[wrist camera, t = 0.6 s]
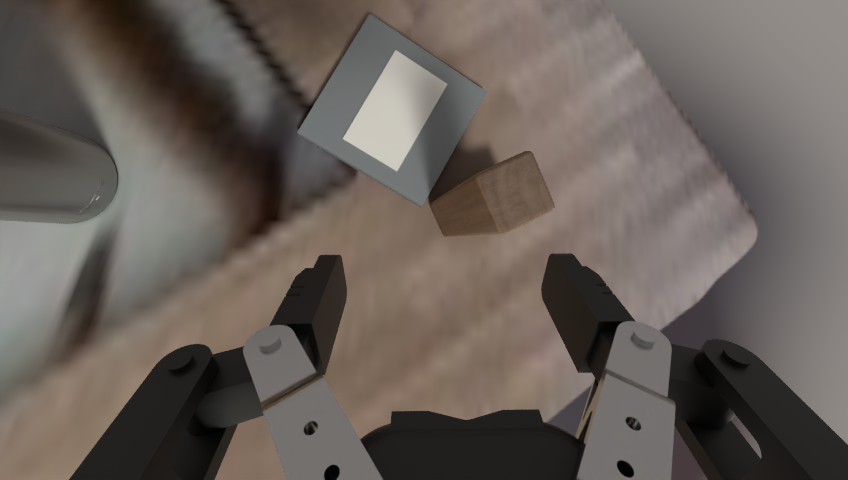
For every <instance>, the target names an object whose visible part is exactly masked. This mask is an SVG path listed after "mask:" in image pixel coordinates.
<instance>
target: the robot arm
mask: <svg viewBox="0 0 848 480" xmlns="http://www.w3.org/2000/svg"><path fill="white" fill-rule="evenodd" d="M116 188H117V172H116V168H115V165H114V163H113V161H112V159H111V157H110V156H109V155H108V154H107V152H106V151H105V150H104V149H103V148H102V147H100V146H99V145H98V144H97V143H95V142H93V141H91V140H89V139H87V138H85V137H82V136H79V135H77V134H74V133H71V132H68V131H65V130H62V129H60V128H57V127H54V126H51V125H48V124H46V123H43V122H40V121H37V120H34V119H32V118H29V117H26V116H23V115H20V114H17V113H15V112H12V111H9V110H6V109H3V108H0V220H5V221H23V222H43V223H63V224H68V223H78V222H82V221H85V220H88V219H90V218H92V217H94V216H97V215H98V214H99V213H101V212H102V211H103V210H104V209H105V208H106V207H107V206H108V205H109V203H110V202H111V201H112V199H113V197H114V195H115V192H116ZM290 287H291V288H290V289H289V290H288V292H287V294H286V297H285V298H284V299H283V301H282V303H281V305H280V307H279V309H278V311H277V312H276V314H275V316H274V318H273V320H272V322H271V324H270V326H268V327H266V328H263V329H261V330H259V331H257V332H256V333H254V334H253V335H252V336H251V337H250V338H249V339H248V340H247V341H246V343H245V345H244V346H243V347H240V348H236V349H232V350H229V351H225V352H221V353H217V354H212V352H211V350H210V349H209V347H207V346H205V345H202V344H193V345H188V346H184V347H181V348H179V349H176V350H175V351H173V352H171V353H169V354H168V355H166V356H165V357H164V358H162V359H161V360H160V361H159V362H158V363H157V364H156V366H155V367H154V368H153V369H152V371H151V372H150V373H149V375H148V376H147V377H146V379H145V380H144V381H143V383H142V384H141V385H140V387H139V388H138V389H137V391H136V392H135V393H134V394H133V396H132V397H131V398H130V400H129V401H128V402H127V404H126V405H125V406H124V408H123V409H122V410H121V412H120V413H119V414H118V416H117V417H116V418H115V420H114V421H113V422H112V424H111V425H110V426H109V428H108V429H107V430H106V431H105V433H104V434H103V435H102V437H101V438H100V439H99V441H98V442H97V443H96V445H95V446H94V447H93V449H92V450H91V451H90V453H89V454H88V455H87V457H86V458H85V459H84V461H83V462H82V463H81V465H80V466H79V467H78V468H77V470H76V471H75V472H74V474H73V475H72V476H71V478H70V479H69V480H214V479H215V477H216V475H217V472H218V470H219V467H220V465H221V463H222V460H223V458H224V456H225V453H226V451H227V448H228V446H229V444H230V441H231V439H232V437H233V434H234V432H235V429H236V427H237V425H238V423H241V422H244V421H247V420H250V419H254V418H257V417H260V416H263V415H264V417H265V420H266V423H267V426H268V429H269V431H270V434H271V437H272V440H273V443H274V445H275V448H276V451H277V454H278V457H279V460H280V462H281V465H282V468H283V471H284V474H285V476H286V479H287V480H671V468H672V453H673V438H674V425H675V427H676V428H677V430H678V432H679V433H680V435H681V437H682V438H683V440H684V441H685V443H686V445H687V446H688V448H689V449H690V451H691V453H692V454H693V456H694V458H695V459H696V461H697V462H698V464H699V466H700V467H701V469H702V471H703V472H704V474H705V475H706V477H707V479H708V480H848V445H847V444H846V443H845V442H844V441H843V440H842V439H841V438H840V437H839V436H838V435H837V434H836V433H835V432H834V431H833V430H832V429H831V428H830V427H829V426H828V425H827V424H826V423H825V422H824V421H823V420H822V419H821V418H820V417H819V416H818V415H817V414H816V413H815V412H814V411H813V410H811V408H809V407H808V406H807V405H806V404H805V403H804V402H803V401H802V400H801V399H800V398H799V397H798V396H797V395H796V394H795V393H794V392H793V391H792V390H791V389H790V388H789V387H788V386H787V385H786V384H785V383H784V382H783V381H782V380H781V379H780V378H779V377H778V376H777V375H776V374H775V373H774V372H773V371H772V370H771V369H770V368H769V367H768V366H767V365H766V364H765V363H764V362H763V361H762V360H760V359H759V358H758V357H757V356H756V355H754V354H753V353H751V352H750V351H748V350H747V349H745V348H743V347H741V346H739V345H737V344H734V343H731V342H728V341H724V340H718V339H712V340H708V341H706V342H705V343H704V345H703V346H702V347H701V349H700V350H696V349H692V348H687V347H683V346H678V345H674V344H670V342H669V341H668V339H667V338H666V337H665V336H664V335H663V334H662V333H661V332H659V331H658V330H656V329H655V328H653V327H651V326H649V325H646V324H644V323H640V322H636V321H635V320H634V319H633V318H632V316H631V315H630V314H629V312H628V311H627V310H626V309H625V307H624V306H623V305H622V304H621V302H620V301H619V300H618V299H617V297H616V296H615V295H614V294H612V291H611V290H610V288H609V287H608V286H606V283H605V282H604V281H603V280H602V278H601V277H600V276H599V275H598V274H597V273H595V272H594V271H593V270H591V269H590V268H588V267H587V266H582V265H581V264H580V263H579V261H578V260H577V259H576V257H575V256H574V255H573V254H551V255H550V256H549V258H548V262H547V266H546V270H545V274H544V278H543V282H542V289H541V291H542V298H543V301H544V303H545V305H546V307H547V309H548V312H549V314H550V316H551V318H552V320H553V322H554V324H555V326H556V328H557V330H558V332H559V334H560V336H561V338H562V340H563V342H564V344H565V346H566V348H567V350H568V352H569V354H570V356H571V358H572V360H573V363H574V365H575V367H576V369H577V371H578V373H591V372H592V373H593V375H594V377H595V379H594V382H593V384H592V387H591V390H590V393H589V396H588V400H587V403H586V406H585V409H584V412H583V415H582V419H581V422H580V425H579V428H578V431H577V433H576V436H573V435H571V434H570V433H568V432H566V431H564V430H562V429H560V428H558V427H556V426H554V425H551V424H548V423H545V422H543V420H542V417H541V414H540V411H539V410H501V411H498V412H494V413H491V414H488V415H484V416H481V417H477V418H474V419H470V420H462V419H458V418H454V417H450V416H446V415H442V414H438V413H434V412H430V411H394V412H392V416H391V424H387V425H384V426H382V427H380V428H377V429H375V430H373V431H372V432H370V433H368V434H367V435H365V436H364V437H363V438H361V439H359V437H358V435H357V434H356V432H355V430H354V428H353V427H352V425H351V423H350V422H349V420H348V418H347V416H346V415H345V413H344V411H343V409H342V408H341V406H340V404H339V403H338V401H337V399H336V397H335V396H334V394H333V392H332V390H331V389H330V387H329V385H328V384H327V382H326V380H325V378H324V377H323V375H325V373H326V369H327V366H328V362H329V359H330V355H331V352H332V348H333V345H334V341H335V338H336V334H337V331H338V327H339V324H340V321H341V317H342V314H343V310H344V307H345V303H346V297H347V287H346V280H345V274H344V268H343V262H342V257H341V255H320V256H319V257H318V260H317V262H316V264H315V266H314V268H305V269H304V270H303V271H302V272H301V273H300V274H298V275H297V276H296V277H295V279H294V281H293V283H292V285H291V286H290ZM735 415H736V416H737V417H738V418H739V419H740V421H741V422H742V423H743V425H744V426H745V427H746V428H747V429H748V431H749V432H750V433H751V435H752V436H753V437H754V438H755V440H756V441H757V443H758V444H759V447H760V450H761V454H762V458H761V459H760V457H759V456H758V455H757V453H756V452H755V451H754V450H753V448H752V447H751V446H750V444H749V443H748V442H747V441H746V439H745V438H744V437H743V435H742V434H741V433H740V432H739V430H738V429H737V428H736V426H735V425H734V424H733V423H732V421H731V419H732V418H733V417H734V416H735Z"/></svg>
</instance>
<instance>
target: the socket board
mask: <svg viewBox="0 0 848 480" xmlns="http://www.w3.org/2000/svg"><path fill="white" fill-rule="evenodd" d="M486 93H487V92H486V91H485V90H483V89H482V88H480V87H479V86H477V85H476V84H474V83H473V82H471V81H470V80H468V79H467V78H465V77H464V76H462V75H461V74H459V73H458V72H456V71H455V70H454V69H452V68H451V67H449V66H448V65H446V64H445V63H443V62H442V61H440V60H439V59H437V58H436V57H434V56H433V55H431V54H430V53H428V52H427V51H425V50H424V49H422V48H421V47H419V46H418V45H416V44H415V43H413V42H412V41H410V40H409V39H407V38H406V37H404V36H403V35H401V34H400V33H398V32H397V31H395V30H394V29H392V28H391V27H389V26H388V25H386V24H385V23H383V22H382V21H380V20H379V19H377V18H376V17H374V16H373V15H371V14H369V16H368V17H367V19H366V20H365V22H364V24H363V25H362V27H361V29H360V30H359V32H358V34H357V35H356V37H355V38H354V40H353V42H352V43H351V45H350V47H349V48H348V50H347V52H346V53H345V55H344V56H343V58H342V60H341V61H340V63H339V65H338V66H337V68H336V70H335V71H334V73H333V74H332V76H331V78H330V79H329V81H328V83H327V84H326V86H325V88H324V89H323V91H322V93H321V94H320V96H319V97H318V99H317V101H316V102H315V104H314V106H313V107H312V109H311V111H310V112H309V114H308V115H307V117H306V119H305V120H304V122H303V124H302V125H301V127H300V129H299V130H298V132H297V133H298V135H299V136H300V137H302V138H304V139H305V140H307V141H309V142H311V143H312V144H314V145H316V146H317V147H319V148H321V149H322V150H324V151H326V152H328V153H329V154H331V155H333V156H334V157H336V158H338V159H339V160H341V161H343V162H345V163H346V164H348V165H350V166H351V167H353V168H355V169H356V170H358V171H360V172H362V173H363V174H365V175H367V176H368V177H370V178H372V179H373V180H375V181H377V182H378V183H380V184H382V185H384V186H385V187H387V188H389V189H390V190H392V191H394V192H395V193H397V194H399V195H401V196H402V197H404V198H406V199H407V200H409V201H411V202H412V203H414V204H416V205H418V206H419V207H422V206H423V204H424V202H425V200H426V199H427V197H428V195H429V193H430V192H431V190H432V188H433V186H434V185H435V183H436V181H437V179H438V177H439V176H440V174H441V172H442V170H443V169H444V167H445V165H446V163H447V162H448V160H449V158H450V156H451V154H452V153H453V151H454V149H455V147H456V146H457V144H458V142H459V140H460V139H461V137H462V135H463V133H464V131H465V130H466V128H467V126H468V124H469V123H470V121H471V119H472V117H473V116H474V114H475V112H476V110H477V108H478V107H479V105H480V103H481V101H482V100H483V98H484V96H485V94H486Z"/></svg>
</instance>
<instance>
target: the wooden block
mask: <svg viewBox="0 0 848 480" xmlns="http://www.w3.org/2000/svg"><path fill="white" fill-rule="evenodd" d="M430 207H431V209H432V211H433V214H434V216H435V218H436V220H437V222H438V225H439V227H440V229H441V231H442V234H443V235H444V236H466V235H489V234H505V233H507V232H510V231H512V230H514V229H516V228H518V227H520V226H522V225H524V224H526V223H528V222H530V221H532V220H534V219H536V218H538V217H540V216H543V215H545V214H547V213H549V212H551V211H552V210H553V209H554V208H555V207H554V202H553V200H552V197H551V195H550V193H549V190H548V188H547V186H546V183H545V181H544V179H543V176H542V174H541V172H540V169H539V167H538V164H537V162H536V160H535V157H534V155H533V153H532V152H531V151H525V152H522V153H520V154H518V155H516V156H513V157H511V158H509V159H507V160H504V161H502V162H500V163H498V164H496V165H493V166H491V167H489V168H487V169H484V170H482V171H480V172H478V173H476V174H475V175H473V176H472V177H470V178H469V179H467V180H465V181H464V182H462V183H461V184H459V185H458V186H456V187H455V188H453V189H452V190H450V191H448V192H447V193H445V194H444V195H442V196H441V197H439V198H438V199H436V200H435V201H433V202H432V203H431V204H430Z"/></svg>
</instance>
